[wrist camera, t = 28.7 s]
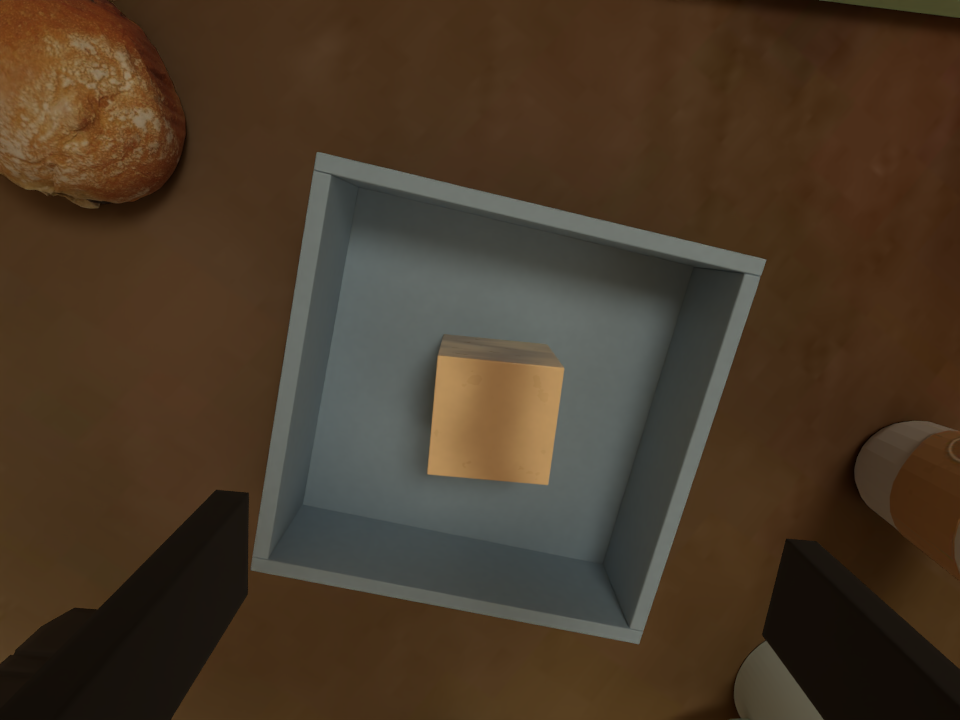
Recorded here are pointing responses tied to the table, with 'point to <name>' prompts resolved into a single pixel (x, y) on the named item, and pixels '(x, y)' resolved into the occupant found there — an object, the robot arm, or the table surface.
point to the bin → (411, 383)
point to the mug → (770, 690)
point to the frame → (912, 5)
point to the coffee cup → (916, 486)
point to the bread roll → (84, 103)
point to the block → (494, 410)
